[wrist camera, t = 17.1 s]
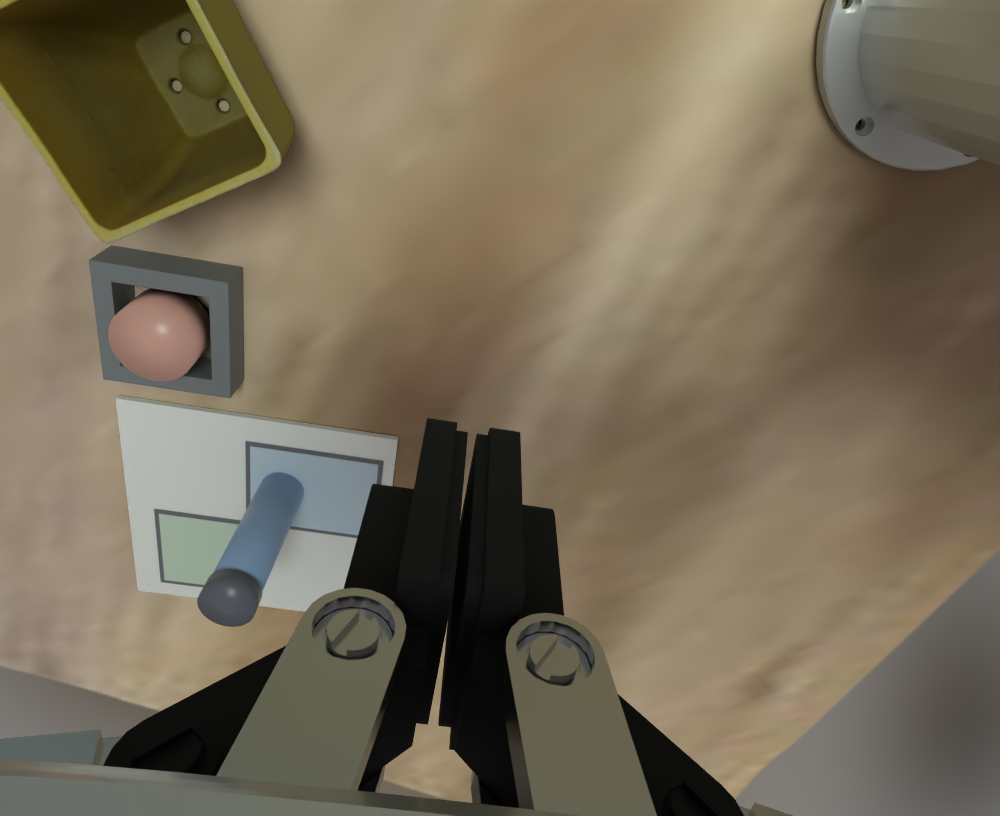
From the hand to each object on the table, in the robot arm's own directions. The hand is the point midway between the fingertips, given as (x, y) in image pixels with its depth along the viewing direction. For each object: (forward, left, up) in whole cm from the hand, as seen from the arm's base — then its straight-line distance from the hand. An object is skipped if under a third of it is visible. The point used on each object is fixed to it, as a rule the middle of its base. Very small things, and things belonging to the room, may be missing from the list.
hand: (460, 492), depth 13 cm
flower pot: (+14, -2, -27) cm, 31 cm away
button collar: (+16, +11, -27) cm, 33 cm away
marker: (+10, +22, -26) cm, 36 cm away
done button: (+16, +11, -26) cm, 32 cm away
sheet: (+12, +25, -27) cm, 39 cm away
